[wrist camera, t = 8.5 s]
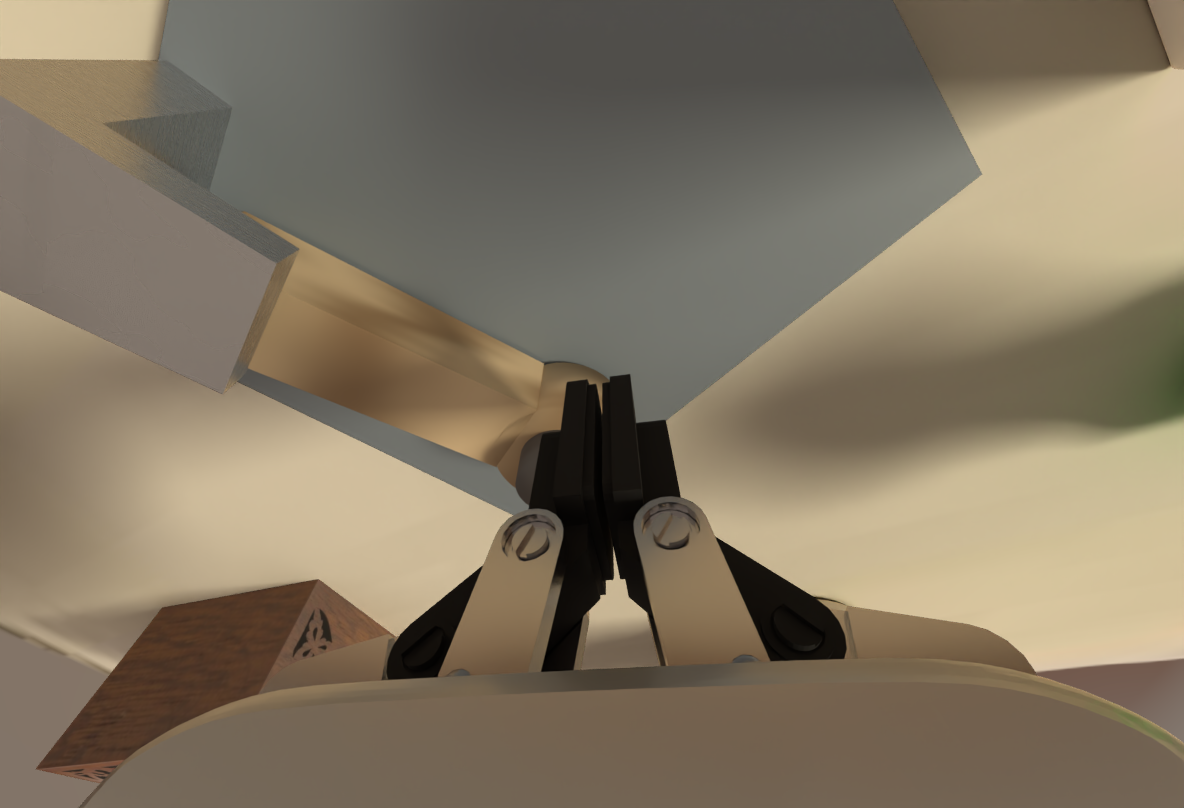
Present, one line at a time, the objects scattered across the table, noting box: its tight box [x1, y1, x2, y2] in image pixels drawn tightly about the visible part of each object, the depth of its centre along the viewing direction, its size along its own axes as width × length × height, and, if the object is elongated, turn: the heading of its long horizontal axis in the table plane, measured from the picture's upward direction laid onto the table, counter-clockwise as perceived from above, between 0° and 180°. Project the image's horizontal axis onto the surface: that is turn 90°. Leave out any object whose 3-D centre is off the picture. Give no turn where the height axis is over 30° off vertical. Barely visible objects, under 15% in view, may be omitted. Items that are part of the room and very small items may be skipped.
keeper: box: [0, 59, 300, 394], centre depth 12 cm, size 5×6×6 cm
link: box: [242, 211, 610, 505], centre depth 16 cm, size 16×5×4 cm, turn 58°
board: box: [159, 0, 982, 515], centre depth 15 cm, size 24×20×1 cm
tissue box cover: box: [36, 579, 395, 783], centre depth 36 cm, size 26×14×10 cm, turn 17°
